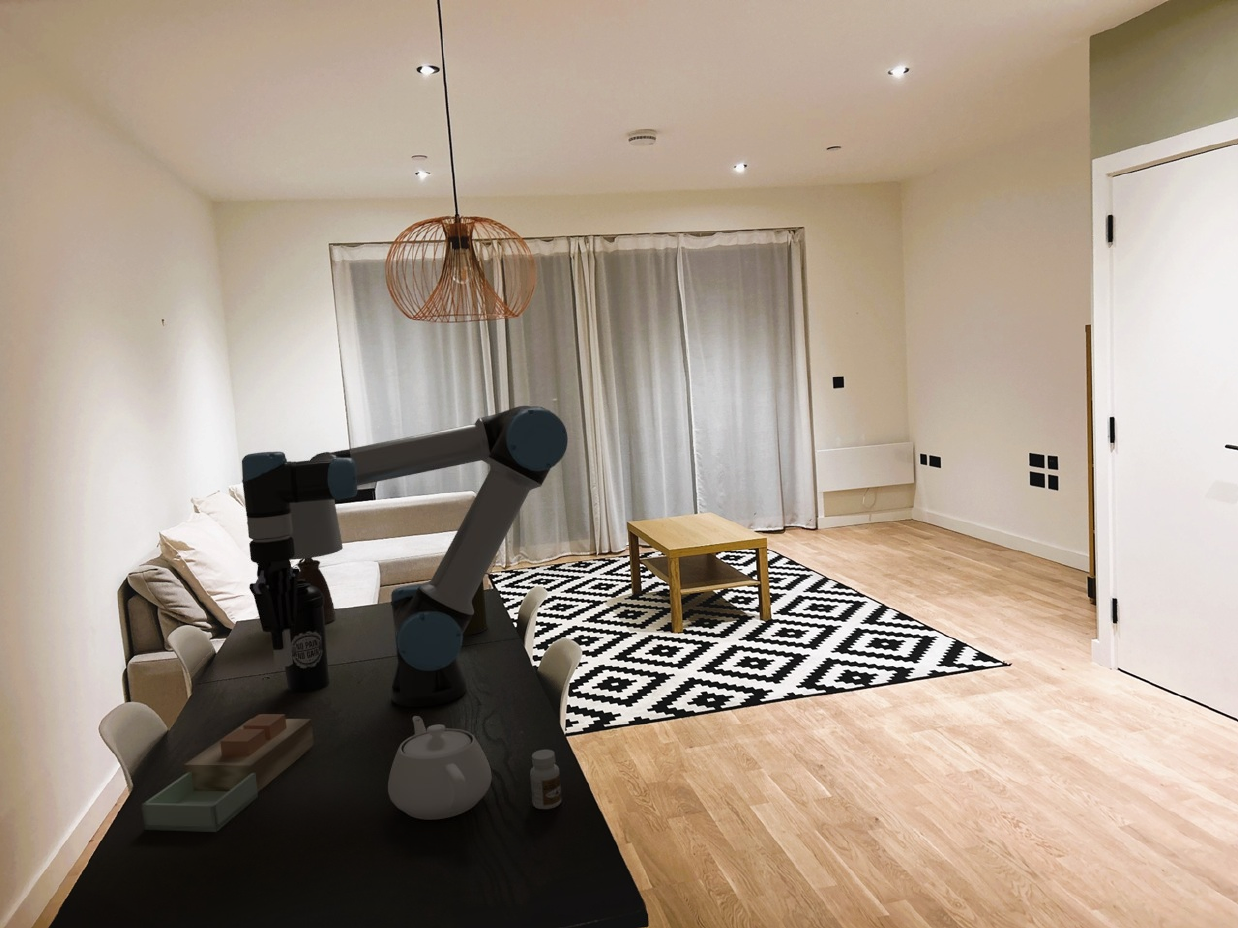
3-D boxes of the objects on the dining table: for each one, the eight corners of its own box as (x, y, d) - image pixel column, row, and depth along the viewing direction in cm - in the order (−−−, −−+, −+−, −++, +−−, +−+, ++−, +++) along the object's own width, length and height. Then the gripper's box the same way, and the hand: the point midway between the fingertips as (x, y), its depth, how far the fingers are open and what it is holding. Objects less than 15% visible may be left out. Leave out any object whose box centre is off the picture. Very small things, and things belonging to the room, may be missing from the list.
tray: (258, 796, 147) (255, 772, 146) (216, 831, 136) (213, 806, 135) (191, 795, 149) (188, 771, 148) (145, 829, 138) (141, 804, 138)
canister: (448, 626, 239) (441, 551, 237) (488, 622, 240) (482, 547, 238) (445, 638, 228) (438, 559, 226) (487, 633, 229) (480, 555, 227)
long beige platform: (313, 745, 166) (311, 718, 165) (254, 794, 147) (250, 765, 147) (254, 744, 168) (250, 718, 167) (187, 793, 149) (184, 764, 149)
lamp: (363, 613, 257) (350, 484, 253) (317, 633, 240) (302, 494, 236) (312, 610, 265) (299, 484, 261) (264, 629, 248) (248, 495, 244)
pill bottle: (550, 812, 135) (546, 762, 134) (526, 806, 137) (522, 757, 136) (567, 799, 138) (563, 750, 137) (544, 794, 141) (540, 745, 140)
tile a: (286, 727, 162) (285, 714, 162) (270, 739, 157) (269, 725, 157) (260, 727, 163) (259, 714, 162) (244, 739, 158) (242, 725, 158)
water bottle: (287, 697, 192) (275, 591, 190) (281, 684, 201) (269, 582, 199) (337, 687, 197) (325, 582, 194) (328, 674, 206) (317, 574, 203)
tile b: (266, 743, 155) (264, 729, 155) (249, 755, 151) (247, 741, 150) (239, 742, 156) (237, 728, 156) (221, 755, 152) (220, 741, 151)
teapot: (516, 821, 133) (510, 740, 132) (410, 851, 126) (403, 766, 125) (464, 760, 155) (459, 690, 154) (372, 783, 148) (365, 710, 147)
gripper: (272, 531, 172) (284, 653, 174) (230, 545, 159) (244, 676, 161) (308, 530, 170) (320, 653, 173) (270, 544, 157) (283, 677, 160)
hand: (283, 664), depth 167 cm, fingers closed
